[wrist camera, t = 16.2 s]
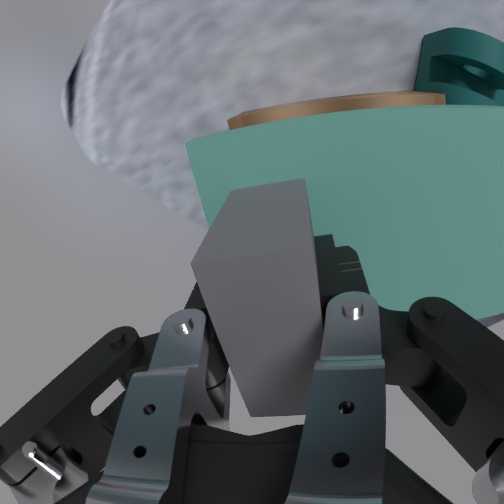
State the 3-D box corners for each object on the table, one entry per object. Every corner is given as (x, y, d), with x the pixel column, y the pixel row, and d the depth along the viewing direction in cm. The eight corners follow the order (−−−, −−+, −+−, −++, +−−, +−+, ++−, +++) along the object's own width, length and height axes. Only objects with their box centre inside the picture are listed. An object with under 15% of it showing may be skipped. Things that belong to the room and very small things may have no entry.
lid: (507, 104, 10) (622, 142, 3) (493, 287, 14) (551, 380, 8) (201, 134, 12) (113, 188, 6) (253, 323, 17) (231, 441, 11)
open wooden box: (408, 90, 21) (444, 94, 15) (417, 201, 26) (449, 234, 20) (243, 112, 24) (227, 120, 18) (268, 222, 29) (261, 262, 23)
